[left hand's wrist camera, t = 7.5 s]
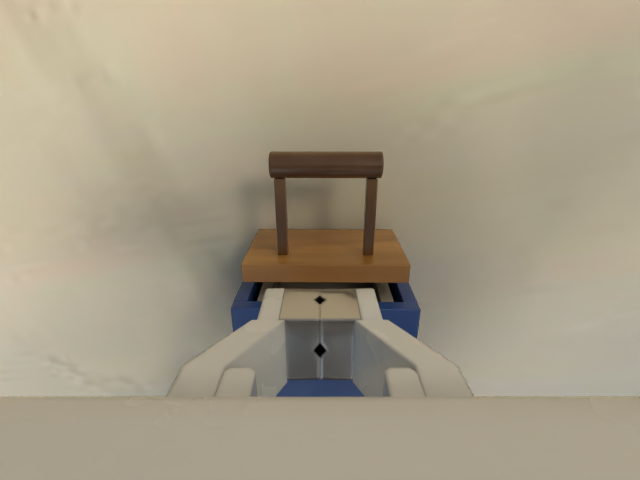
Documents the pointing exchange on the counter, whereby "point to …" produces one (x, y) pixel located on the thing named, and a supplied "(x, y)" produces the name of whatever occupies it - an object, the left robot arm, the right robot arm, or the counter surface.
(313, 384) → the blue square-sided box
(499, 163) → the counter surface
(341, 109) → the counter surface
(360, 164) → the wooden drawer
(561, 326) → the counter surface
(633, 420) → the left robot arm
